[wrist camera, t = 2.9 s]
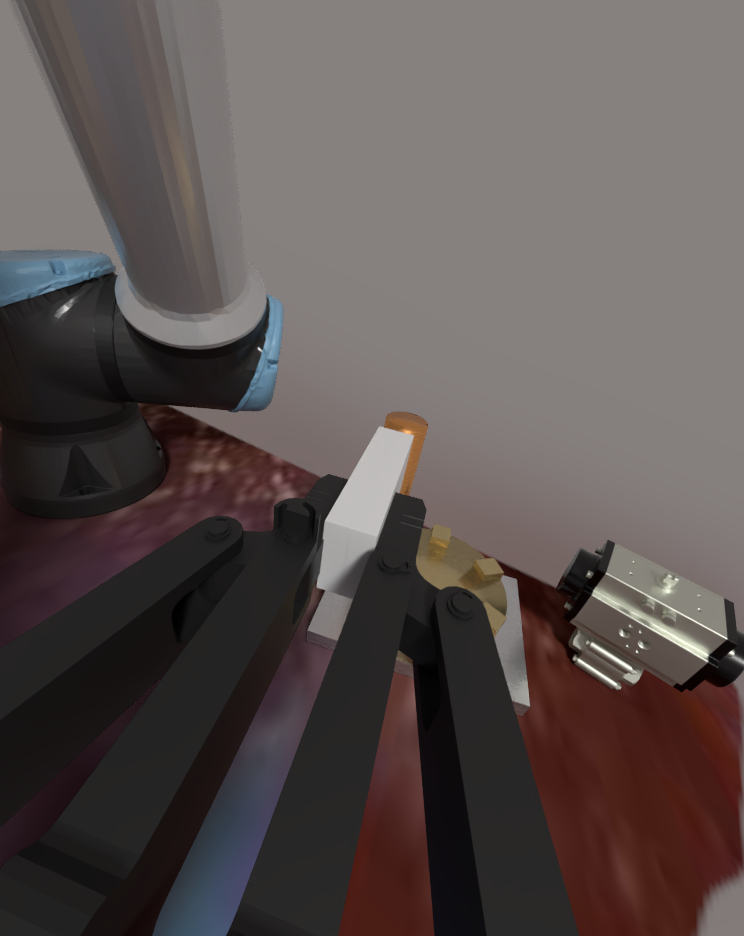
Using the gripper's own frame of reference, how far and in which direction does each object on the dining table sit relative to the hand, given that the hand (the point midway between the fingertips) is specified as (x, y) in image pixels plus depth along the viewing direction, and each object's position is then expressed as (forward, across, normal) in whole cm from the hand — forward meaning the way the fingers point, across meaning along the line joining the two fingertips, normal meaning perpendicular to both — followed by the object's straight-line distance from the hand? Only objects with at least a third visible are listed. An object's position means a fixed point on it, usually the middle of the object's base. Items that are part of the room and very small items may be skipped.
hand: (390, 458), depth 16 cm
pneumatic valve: (+11, +21, -22) cm, 32 cm away
